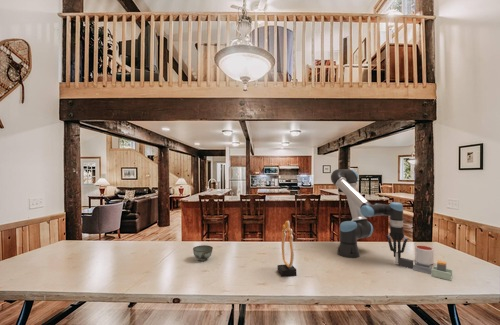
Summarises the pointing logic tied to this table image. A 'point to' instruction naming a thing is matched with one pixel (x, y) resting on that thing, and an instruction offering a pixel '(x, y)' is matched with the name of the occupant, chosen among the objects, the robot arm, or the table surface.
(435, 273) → the end holder
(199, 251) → the bowl
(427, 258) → the cup
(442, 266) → the orange tall block
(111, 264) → the table surface
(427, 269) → the clip
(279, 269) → the loop sculpture
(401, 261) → the charcoal brick
